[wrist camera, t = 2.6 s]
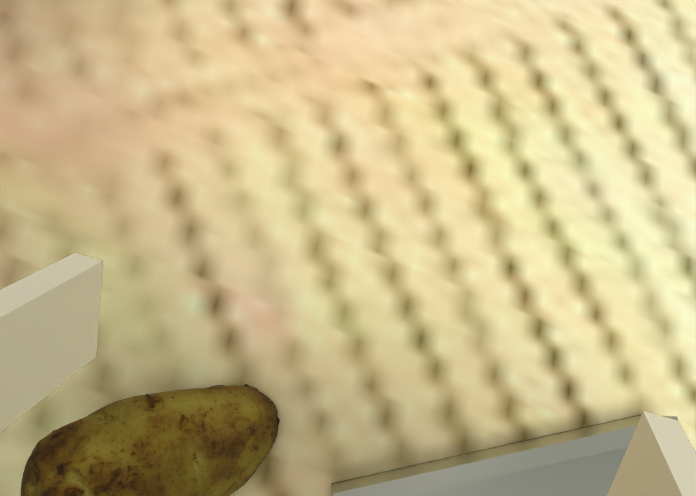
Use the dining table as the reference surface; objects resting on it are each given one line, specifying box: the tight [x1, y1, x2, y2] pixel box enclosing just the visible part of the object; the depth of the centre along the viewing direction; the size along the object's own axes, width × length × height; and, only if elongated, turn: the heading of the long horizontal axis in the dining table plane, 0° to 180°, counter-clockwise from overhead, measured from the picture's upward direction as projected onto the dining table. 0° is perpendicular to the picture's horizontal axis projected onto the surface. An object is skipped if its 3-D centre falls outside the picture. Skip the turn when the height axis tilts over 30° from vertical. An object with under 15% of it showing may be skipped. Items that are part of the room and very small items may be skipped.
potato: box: [21, 384, 279, 496], centre depth 34 cm, size 8×13×8 cm, turn 91°
